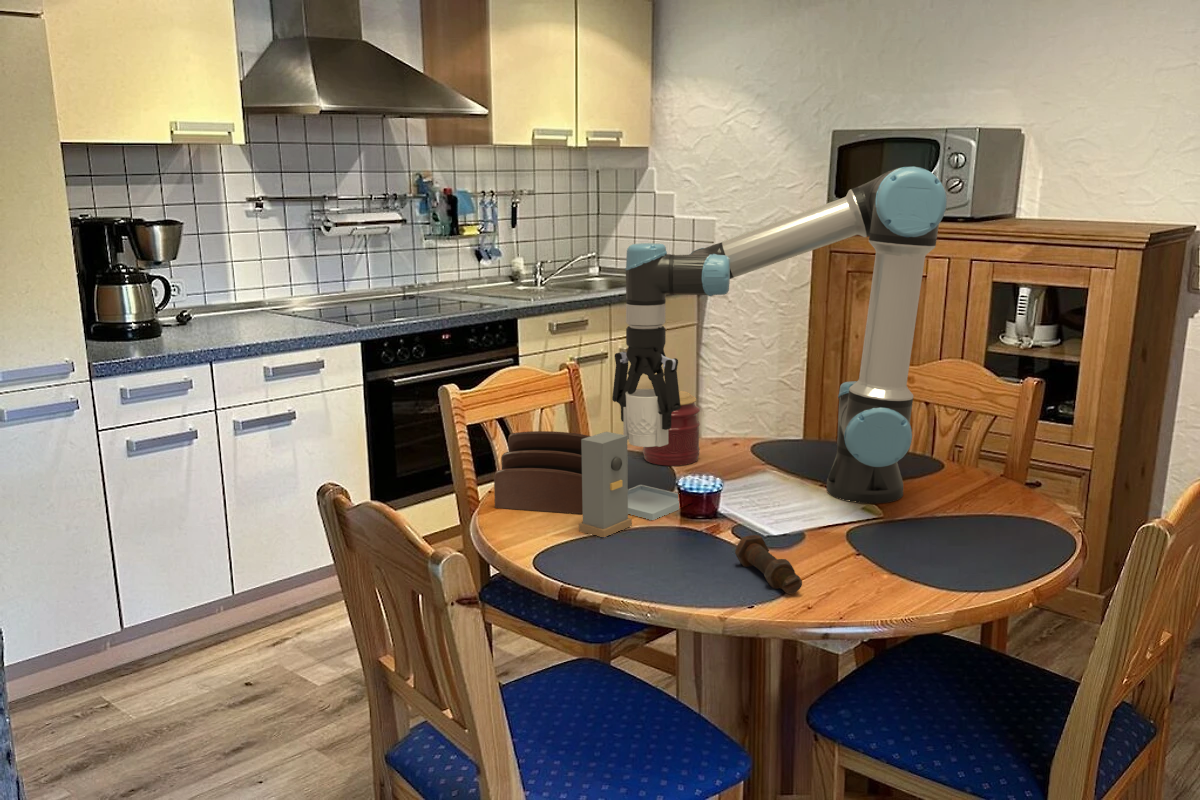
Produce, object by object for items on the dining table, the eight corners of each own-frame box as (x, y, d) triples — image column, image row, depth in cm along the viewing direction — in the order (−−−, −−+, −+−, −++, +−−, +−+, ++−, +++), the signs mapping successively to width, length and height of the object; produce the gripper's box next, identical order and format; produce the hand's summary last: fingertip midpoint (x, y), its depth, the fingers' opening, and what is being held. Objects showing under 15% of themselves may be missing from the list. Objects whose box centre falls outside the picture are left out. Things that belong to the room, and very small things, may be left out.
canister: (662, 448, 239) (662, 376, 235) (709, 456, 231) (710, 382, 228) (632, 461, 228) (631, 385, 225) (680, 470, 221) (681, 392, 217)
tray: (692, 503, 198) (692, 496, 198) (652, 520, 188) (652, 513, 188) (640, 490, 207) (640, 484, 206) (599, 507, 197) (599, 500, 197)
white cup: (623, 447, 192) (622, 396, 189) (628, 437, 199) (628, 388, 197) (663, 448, 190) (664, 397, 188) (668, 438, 198) (668, 389, 196)
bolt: (788, 608, 154) (744, 570, 168) (814, 590, 155) (768, 553, 169) (773, 581, 152) (730, 544, 166) (799, 562, 153) (754, 527, 166)
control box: (632, 526, 185) (631, 435, 182) (604, 538, 180) (603, 444, 176) (607, 519, 189) (606, 430, 186) (579, 531, 183) (577, 439, 180)
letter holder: (511, 494, 206) (508, 428, 203) (603, 500, 201) (603, 432, 198) (494, 509, 197) (491, 440, 194) (591, 516, 192) (589, 445, 189)
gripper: (701, 328, 186) (699, 446, 191) (617, 319, 199) (617, 429, 204) (677, 332, 180) (676, 454, 185) (592, 323, 193) (593, 437, 198)
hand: (645, 441), depth 195 cm, fingers closed on white cup, 7 cm apart
